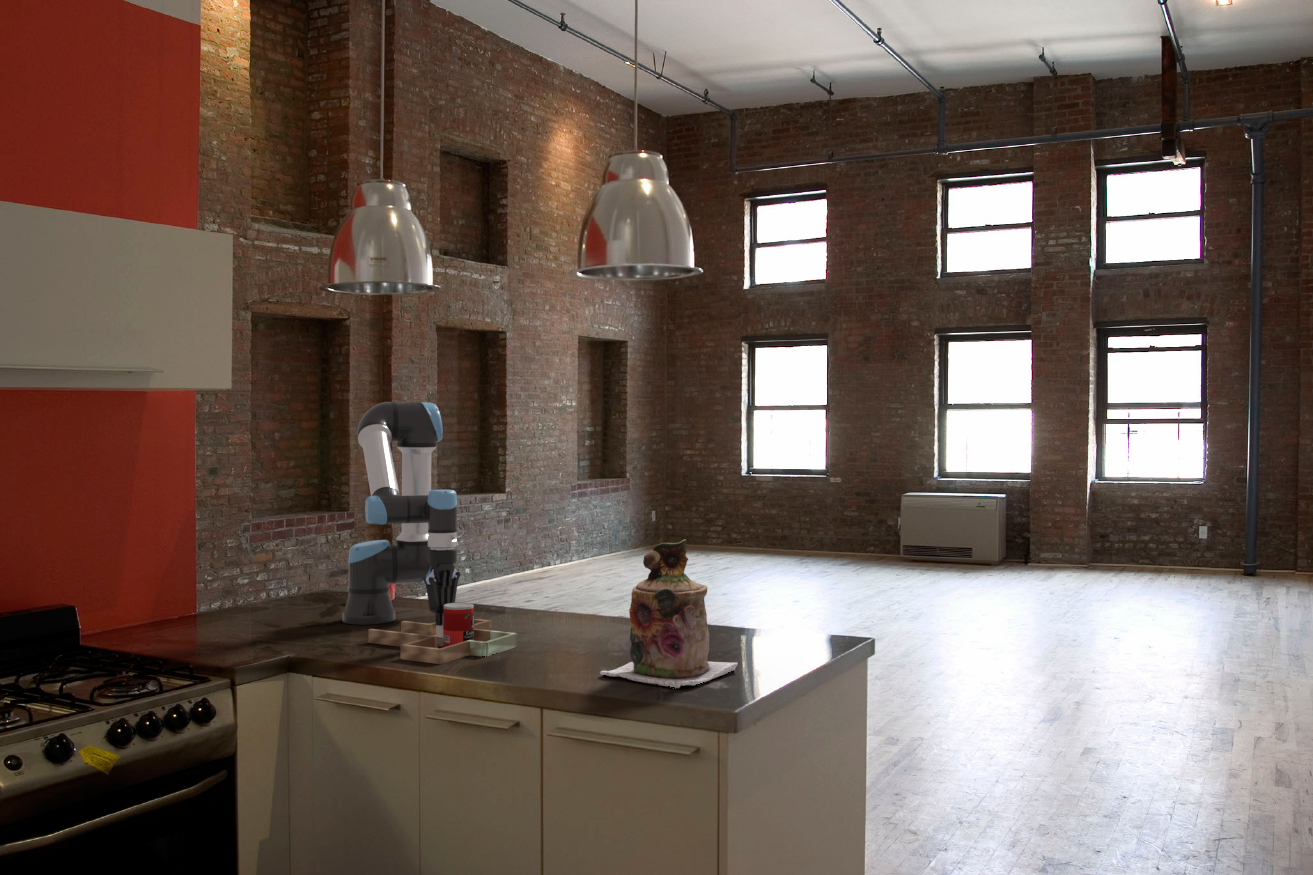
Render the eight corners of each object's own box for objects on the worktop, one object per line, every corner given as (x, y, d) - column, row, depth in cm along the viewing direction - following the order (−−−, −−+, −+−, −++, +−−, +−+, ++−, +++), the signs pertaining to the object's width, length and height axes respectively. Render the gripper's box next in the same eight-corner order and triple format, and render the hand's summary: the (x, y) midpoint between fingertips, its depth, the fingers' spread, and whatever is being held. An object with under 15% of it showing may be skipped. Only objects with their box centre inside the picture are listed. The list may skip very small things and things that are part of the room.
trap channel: (336, 650, 284) (336, 637, 284) (431, 626, 318) (431, 614, 318) (456, 666, 267) (456, 651, 267) (542, 638, 301) (542, 625, 301)
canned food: (469, 650, 285) (469, 607, 285) (439, 649, 286) (439, 606, 286) (477, 644, 293) (477, 602, 293) (447, 643, 294) (447, 602, 294)
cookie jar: (655, 659, 276) (656, 531, 276) (741, 671, 263) (742, 537, 262) (595, 677, 256) (596, 539, 255) (685, 692, 242) (686, 547, 242)
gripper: (438, 551, 284) (437, 642, 285) (468, 546, 296) (468, 634, 296) (415, 549, 288) (414, 640, 288) (446, 545, 299) (445, 631, 300)
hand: (442, 637), depth 292 cm, fingers closed
